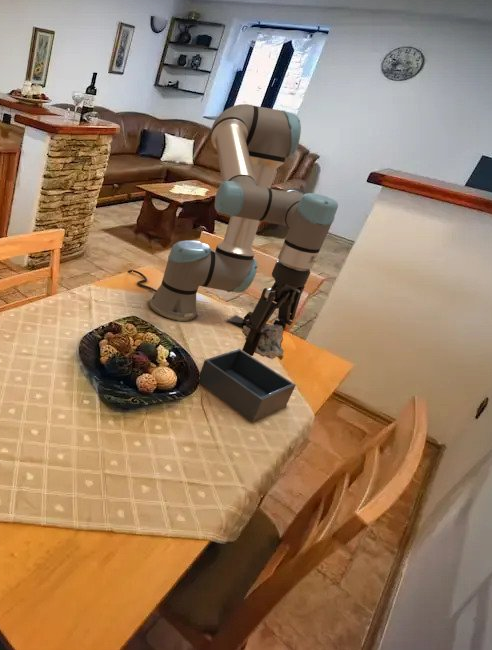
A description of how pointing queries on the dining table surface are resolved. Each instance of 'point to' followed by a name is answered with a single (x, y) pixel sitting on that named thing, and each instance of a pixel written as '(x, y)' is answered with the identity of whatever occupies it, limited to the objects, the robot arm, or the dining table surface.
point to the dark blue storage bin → (246, 384)
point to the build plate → (240, 320)
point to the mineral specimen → (269, 341)
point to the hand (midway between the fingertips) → (259, 348)
